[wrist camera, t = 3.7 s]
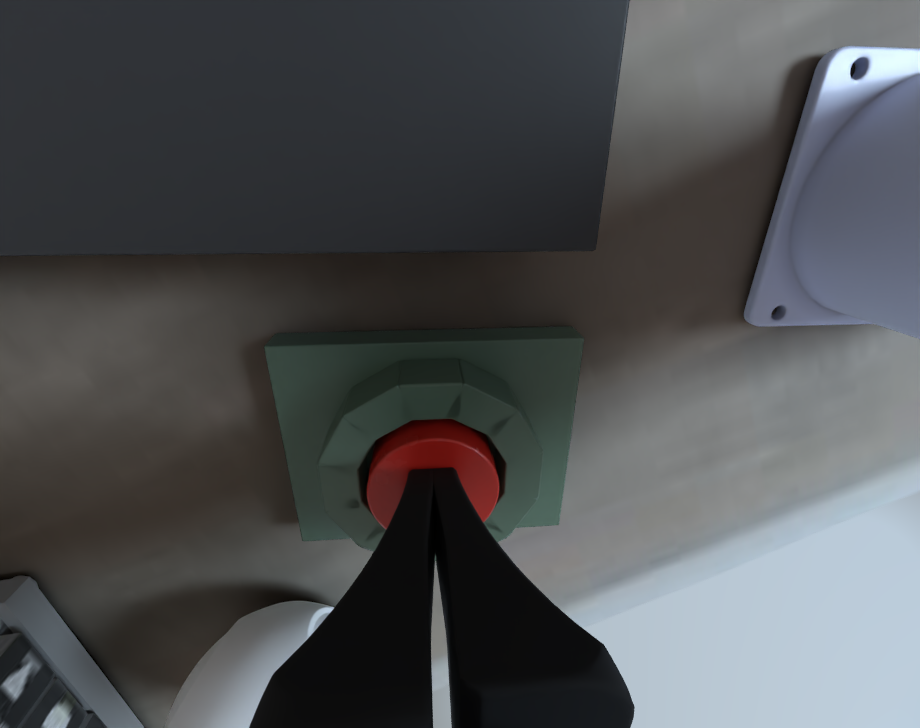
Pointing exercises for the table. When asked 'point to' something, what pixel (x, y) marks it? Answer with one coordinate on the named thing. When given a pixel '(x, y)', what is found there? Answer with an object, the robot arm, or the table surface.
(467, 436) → the power button
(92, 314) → the table surface
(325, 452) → the control block
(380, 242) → the grill lid
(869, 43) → the table surface
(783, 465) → the table surface
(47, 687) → the tall grey pillar
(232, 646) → the white round piece
